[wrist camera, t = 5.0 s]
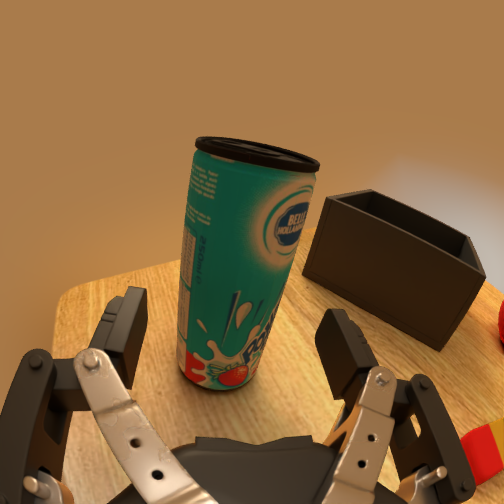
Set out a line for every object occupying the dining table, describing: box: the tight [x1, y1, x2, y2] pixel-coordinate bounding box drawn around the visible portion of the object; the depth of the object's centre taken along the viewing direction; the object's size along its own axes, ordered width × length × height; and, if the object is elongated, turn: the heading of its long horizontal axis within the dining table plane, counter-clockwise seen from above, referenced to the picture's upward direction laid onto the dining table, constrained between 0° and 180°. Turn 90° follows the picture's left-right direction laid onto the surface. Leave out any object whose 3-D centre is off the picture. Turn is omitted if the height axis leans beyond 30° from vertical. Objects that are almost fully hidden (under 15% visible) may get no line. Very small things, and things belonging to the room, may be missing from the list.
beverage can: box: [176, 137, 320, 391], centre depth 16 cm, size 6×6×15 cm
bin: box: [302, 189, 486, 352], centre depth 33 cm, size 20×20×10 cm
